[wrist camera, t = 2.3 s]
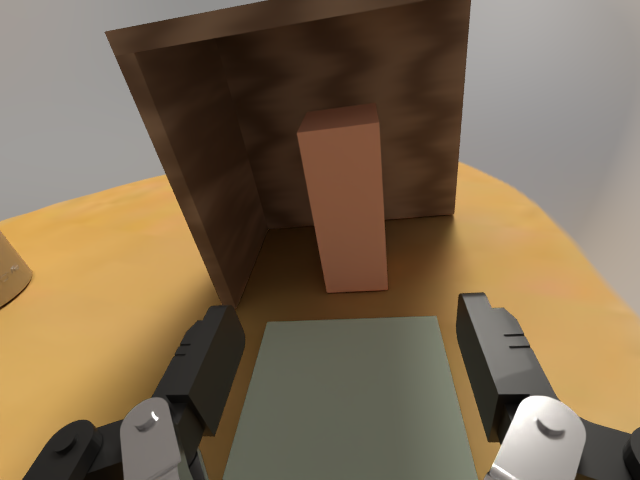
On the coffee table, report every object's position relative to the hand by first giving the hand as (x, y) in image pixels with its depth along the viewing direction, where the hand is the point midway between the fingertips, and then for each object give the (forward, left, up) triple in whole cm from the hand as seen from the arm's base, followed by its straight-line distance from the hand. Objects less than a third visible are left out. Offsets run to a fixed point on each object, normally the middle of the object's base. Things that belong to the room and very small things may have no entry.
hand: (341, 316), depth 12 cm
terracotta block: (0, +12, -8) cm, 15 cm away
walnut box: (-1, +15, -8) cm, 17 cm away
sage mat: (-1, +1, -8) cm, 8 cm away
